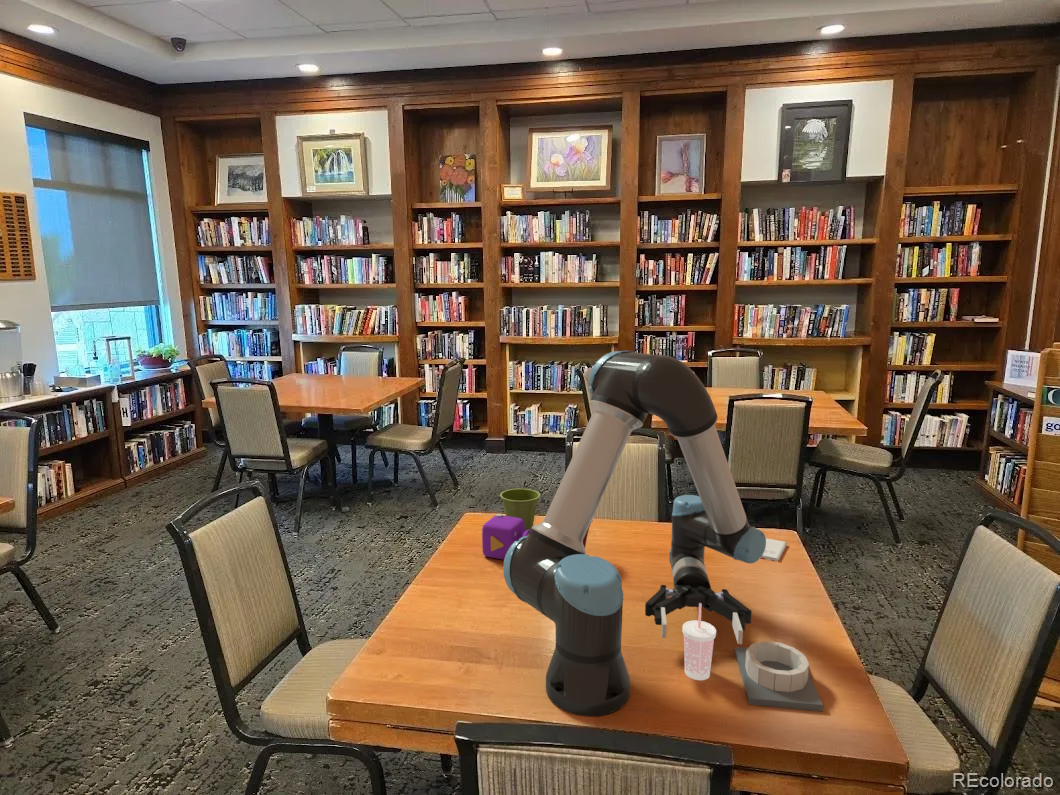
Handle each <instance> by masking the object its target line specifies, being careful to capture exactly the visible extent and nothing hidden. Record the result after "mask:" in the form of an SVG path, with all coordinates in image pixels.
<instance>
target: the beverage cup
mask: <svg viewBox="0 0 1060 795" xmlns="http://www.w3.org/2000/svg"><path fill="white" fill-rule="evenodd" d="M702 609H703V608H702V604H701V603H699V607H698V618H697V619H698V620H696V619H695V620H688V621H685V622H684V623H683V624H682V627H681V628H682V629H681V630H682V631H681V633H682V634H683V651H684V652H683V654H684V655H683V657H684V662H683V663H684V674H685V675H686V676H687V677H688V678H690V679H692V680H695V681H706V680H707V679H709V678H710V676H711V675H710V674H711V668H712V658H713V650H714V644H715V643H714V641H715V638H716V637H717V629H716V627H715V626H714V625H712V624H711V623H709V622H706V621H703V620H702Z"/></svg>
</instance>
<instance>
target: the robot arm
mask: <svg viewBox="0 0 1060 795" xmlns="http://www.w3.org/2000/svg"><path fill="white" fill-rule="evenodd" d="M588 384H589V385H590V386H589V388H588V390H589V393H590V395H591V398H590V401H588V402H589V403H588V404H589V405H590V409H591V411H592V414H591V416H590V419H589V420H588V423H587V425H586V427H585V429H584V431H583V434H582V435H581V437H580V440H579V442H578V444H577V447H576V449H575V451H574V453H573V456H572V457H571V460H570V462H569V465H568V466H567V468H566V471H565V473H564V475H563V477H562V479H561V481H560V484H559V486H558V488H557V490H556V493H555V494H554V497H553V498H552V501H551V504H550V506H549V508H548V509H547V511H546V514H545V517H544V518H543V520H542V522H540V523H537V524H534V525H533V526H532V528H531V530H530V532H529V534H528V536H524V537H521V538H520V539H519V541H515V542H514V543H513V544H512V545H511V547H510V548H509V550H508V551H507V554H506V556H505V559H504V560H503V566H502V567H503V568H502V570H503V572H502V573H503V574H502V575H503V578H504V581H505V584H506V586H507V588H508V589H509V590H510V591H511V592H512V593H513V594H514V595H515V596H516V597H517V598H518V599H519V600H520V601H522V602H523V603H525V604H528V606H531V608H533V609H535V610H536V611H538V612H539V613H540V614H542V615H543V616H545V617H546V618H548V619H549V620H550V621H552V622H553V623H554V625H555V646H554V647H555V648H554V650H553V653H552V656H551V660H550V661H549V662H550V663H549V664H548V667H547V670H546V674H545V692H546V695H547V697H548V699H549V700H550V701H551V702H552V703H553V704H554V705H555V706H557V707H558V708H559V709H560V710H562V711H563V710H564V711H565V712H568V713H570V714H574V715H577V716H584V717H585V716H586V717H598V716H605V715H609V714H611V713H614V712H616V711H619V710H620V709H621V708H622V707H623V706H625V705H626V703H627V702H628V701H629V698H630V695H631V679H630V674H629V672H628V668H627V665H626V661H625V659H624V655H623V653H622V633H623V632H622V626H623V604H624V602H623V601H624V591H623V580H622V576H621V573H620V572H619V570H618V569H617V567H615V566H614V565H613V563H611V562H610V561H608V560H606V559H604V558H602V557H599V556H598V555H594V556H590V555H589V554H586V553H587V552H586V547H585V548H584V545H583V539H584V537H585V534H586V532H587V530H588V528H589V529H590V527H589V525H590V526H591V524H592V523H591V521H592V519H593V518H594V516H595V514H596V511H597V510H598V507H599V505H600V503H601V501H602V498H603V496H604V494H605V493H606V489H607V487H608V485H609V483H610V481H611V478H612V476H613V474H614V472H615V469H616V467H617V465H618V462H619V460H620V459H621V456H622V454H623V452H624V449H625V447H626V445H627V443H628V440H629V438H630V436H631V434H632V432H633V431H634V430H636V429H641V428H642V427H643V425H644V423H645V421H646V419H647V417H648V415H652V416H656V417H658V418H659V419H660V420H661V421H663V422H664V424H665V425H666V428H667V430H668V433H669V434H670V435H671V436H673V438H674V437H675V438H676V439H677V442H678V444H679V446H680V450H681V451H682V455H683V457H684V460H685V463H686V465H687V467H688V470H689V473H690V475H691V478H692V480H693V483H694V486H695V488H696V491H697V494H698V495H695V494H684V495H683V494H681V495H679V496H677V497H676V498H675V499H673V505H672V506H673V507H672V513H671V518H672V519H671V542H670V549H669V558H668V559H669V560H668V561H669V563H670V566H671V567H670V568H671V573H672V580H673V582H672V583H673V589H670V588H667V585H666V584H661V585H660V587H659V590H657V591H656V593H655V594H654V595H652V596H651V597H650V598H649V599H648V600H647V601H646V602H645V604H644V605H645V607H644V608H645V609H644V615H645V617H651V616H653V617H654V620H653V621H654V624H655V625H656V626H660V630H661V638H662V639H667V631H668V630H667V625H668V624H667V623H668V622H667V615H669V614H671V613H672V612H674V611H676V610H682V609H684V608H687V607H688V608H689V607H690V608H699V603H701V604H702V608H701V609H704V610H706V611H708V612H711V613H712V612H713V613H716V614H718V615H719V616H722V617H723V618H725V619H726V620H728V621H730V622H731V626H732V629H733V632H734V636H735V639H736V642H737V645H743V636H744V634H743V633H744V632H746V624H747V625H750V624H752V609H750V608H749V607H747V606H746V605H745V604H743V603H742V602H741V601H739V600H738V599H737V598H736V597H734V596H732V595H731V594H730V593H729V590H728V589H725V588H721V592H715V591H714V590H713V589H712V586H711V582H710V579H709V575H708V571H707V568H706V565H705V548H707V549H710V550H713V551H715V552H718V553H720V554H723V555H725V556H727V557H730V558H732V559H733V560H735V561H740V562H743V563H747V564H755V563H756V562H758V561H759V560H760V559H761V558H760V557H761V556H762V555H763V553H764V551H765V547H766V538H767V537H766V534H765V533H764V532H763V531H762V530H760V529H759V528H756V527H755V526H751V525H750V523H749V521H748V520H749V519H748V518H747V515H746V512H745V509H744V506H743V504H742V500H741V497H740V494H739V492H738V488H737V487H736V486H737V485H736V483H735V480H734V477H733V475H732V471H731V467H730V465H729V462H728V459H727V457H726V454H725V450H724V448H723V445H722V442H721V440H720V437H719V432H718V430H717V428H716V424H717V422H718V414H717V411H716V408H715V405H714V402H713V400H712V397H711V396H710V394H709V392H708V390H707V388H706V387H705V385H704V383H703V382H702V381H701V380H700V378H699V377H698V376H697V374H696V373H695V372H694V371H693V370H692V369H691V368H690V367H689V366H688V365H686V364H685V363H684V362H682V361H681V360H679V359H677V358H675V357H673V356H668V355H662V354H651V353H643V352H635V351H634V350H620V351H619V350H615V351H610V352H608V353H606V354H604V355H602V356H601V357H600V358H599V359H598V360H597V361H596V363H594V365H593V367H592V369H591V371H590V374H589V378H588ZM592 522H593V521H592ZM590 523H591V524H590Z"/></svg>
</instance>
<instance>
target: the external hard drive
mask: <svg viewBox="0 0 1060 795" xmlns="http://www.w3.org/2000/svg"><path fill="white" fill-rule="evenodd" d="M787 544H788V543H787V541H783V540H777V539H772V538H767V537H766V547H765V551H764V553H763V555H762V556H761V558H760V559H763V558H765V559H764V560H766V559H769V560H768V561H771V560H774V561H773V562H776V561H778V560H779V561H780V560H781V559H780V558H781V557H782V555H783V553H784V551H785V550H786V547H787ZM779 561H778V562H779Z"/></svg>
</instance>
